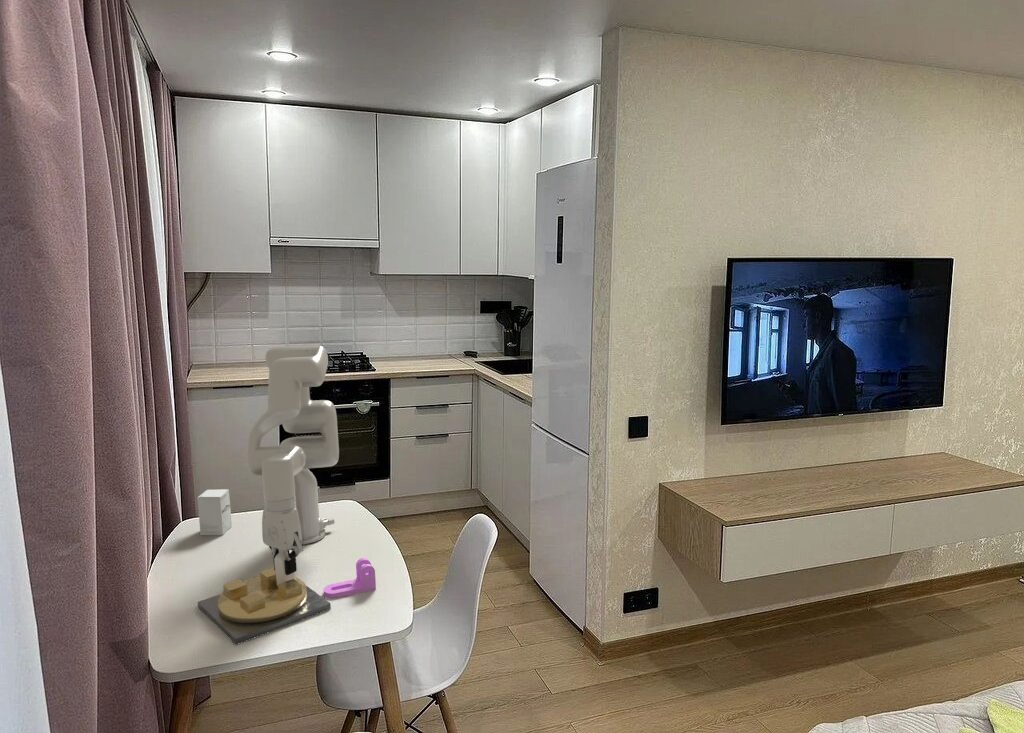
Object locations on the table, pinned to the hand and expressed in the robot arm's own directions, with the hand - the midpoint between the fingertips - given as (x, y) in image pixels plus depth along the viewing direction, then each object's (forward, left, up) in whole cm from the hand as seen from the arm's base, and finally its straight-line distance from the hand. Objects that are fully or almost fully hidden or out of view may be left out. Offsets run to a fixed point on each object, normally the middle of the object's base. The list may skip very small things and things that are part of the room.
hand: (285, 570), depth 193 cm
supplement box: (-3, -56, -8) cm, 57 cm away
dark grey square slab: (+7, +2, -7) cm, 10 cm away
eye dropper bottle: (0, 0, -4) cm, 4 cm away
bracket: (-13, +8, -8) cm, 17 cm away
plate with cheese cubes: (+7, +2, -5) cm, 9 cm away
